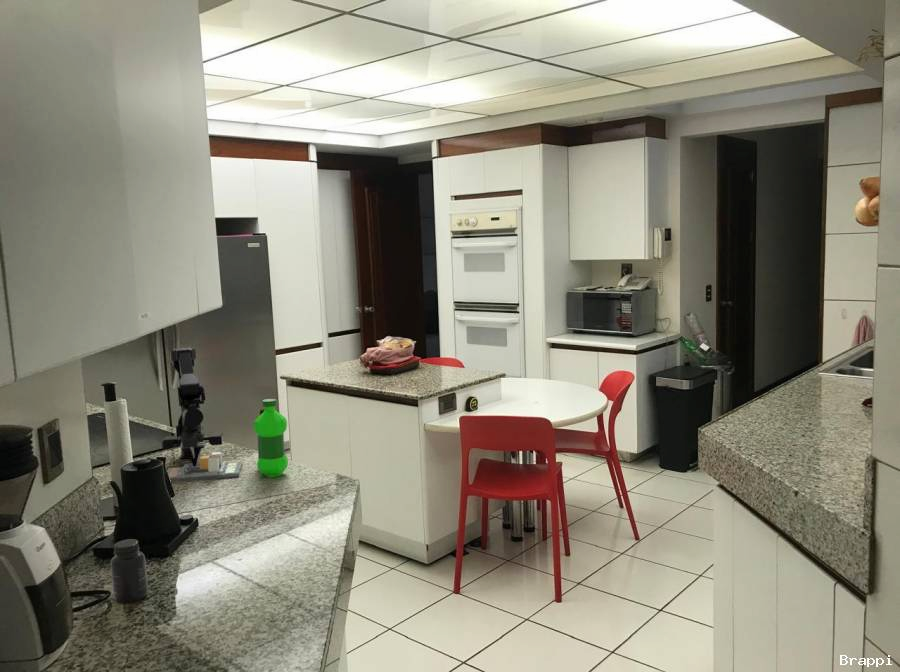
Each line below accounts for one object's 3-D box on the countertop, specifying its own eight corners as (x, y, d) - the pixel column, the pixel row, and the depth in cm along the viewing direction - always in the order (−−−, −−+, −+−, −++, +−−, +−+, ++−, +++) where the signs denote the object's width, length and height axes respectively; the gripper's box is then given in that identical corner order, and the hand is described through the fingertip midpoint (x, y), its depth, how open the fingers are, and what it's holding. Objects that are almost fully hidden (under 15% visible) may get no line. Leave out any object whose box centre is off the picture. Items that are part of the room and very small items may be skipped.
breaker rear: (213, 464, 246) (212, 452, 246) (222, 463, 247) (221, 451, 246) (212, 466, 243) (211, 454, 243) (221, 466, 244) (220, 454, 243)
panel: (169, 471, 244) (168, 465, 244) (242, 465, 249) (242, 459, 249) (161, 483, 232) (161, 476, 232) (238, 476, 237) (238, 470, 236)
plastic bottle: (265, 481, 231) (260, 405, 228) (252, 474, 239) (248, 399, 236) (294, 475, 237) (290, 400, 234) (281, 468, 245) (277, 395, 242)
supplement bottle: (138, 586, 160) (134, 534, 158) (154, 594, 156) (150, 541, 154) (107, 598, 155) (102, 544, 153) (123, 607, 150) (118, 552, 149)
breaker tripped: (201, 468, 242) (200, 456, 241) (210, 468, 242) (209, 455, 242) (200, 471, 239) (199, 458, 238) (209, 470, 239) (208, 458, 239)
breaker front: (209, 471, 238) (209, 459, 238) (219, 470, 239) (218, 458, 238) (208, 474, 236) (207, 461, 235) (218, 473, 236) (217, 460, 236)
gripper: (156, 427, 228) (160, 475, 230) (218, 423, 232) (221, 471, 234) (163, 419, 239) (167, 465, 241) (222, 416, 243) (225, 461, 244)
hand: (195, 466), depth 240 cm, fingers closed
